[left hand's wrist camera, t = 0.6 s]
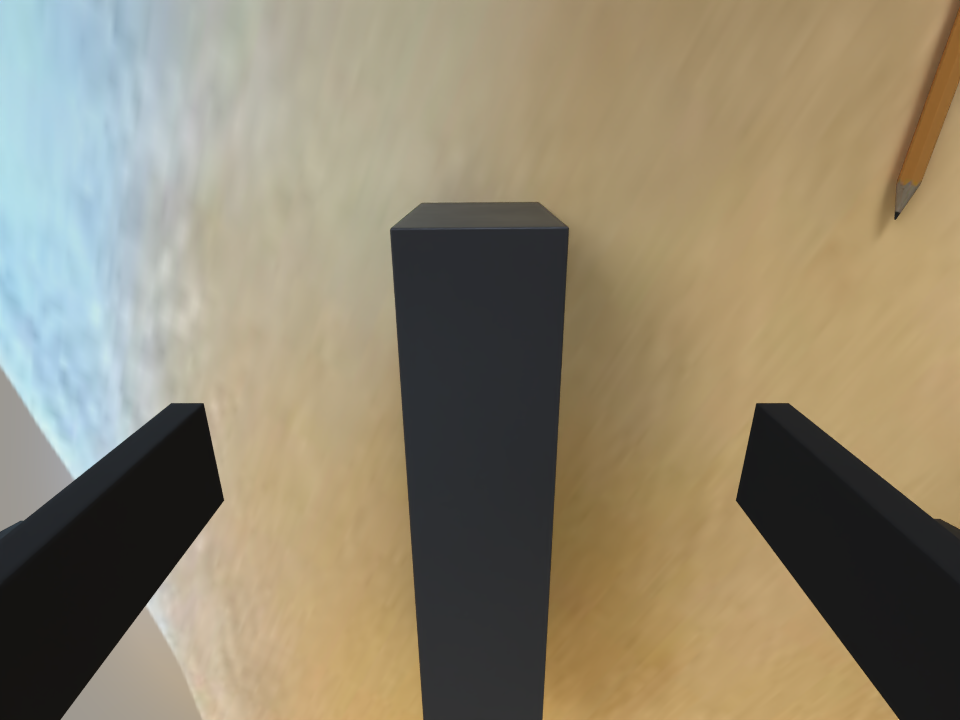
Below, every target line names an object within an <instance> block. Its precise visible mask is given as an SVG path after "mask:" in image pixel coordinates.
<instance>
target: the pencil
mask: <svg viewBox="0 0 960 720" xmlns="http://www.w3.org/2000/svg"><path fill="white" fill-rule="evenodd" d="M959 80H960V8H959V11H958V13H957V16H956V19H955V22H954V25H953V27H952V30H951V33H950V36H949V38H948V41H947V44H946V47H945V50H944V52H943V55H942V58H941V61H940V64H939V66H938V69H937V72H936V75H935V77H934V80H933V83H932V86H931V89H930V91H929V94H928V97H927V100H926V102H925V105H924V108H923V111H922V114H921V116H920V119H919V122H918V125H917V128H916V130H915V133H914V136H913V139H912V141H911V144H910V147H909V150H908V153H907V155H906V158H905V161H904V164H903V166H902V169H901V172H900V175H899V178H898V181H897V186H896V202H895V218H894V220H896V219H897V217H898V216H899V214H900V213H901V211H902V210H903V209H904V207H905V206H906V204H907V203H908V201H909V200H910V199H911V197H912V196H913V194H914V193H915V191H916V190H917V188H918V187H919V185H920V184H921V181H922V179H923V176H924V173H925V171H926V168H927V165H928V163H929V160H930V157H931V155H932V152H933V149H934V147H935V144H936V141H937V139H938V136H939V133H940V131H941V128H942V126H943V123H944V120H945V118H946V115H947V112H948V110H949V107H950V104H951V102H952V99H953V96H954V94H955V91H956V88H957V86H958V83H959Z"/></svg>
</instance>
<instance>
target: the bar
mask: <svg viewBox="0 0 960 720" xmlns="http://www.w3.org/2000/svg"><path fill="white" fill-rule="evenodd" d="M390 235H391V249H392V264H393V279H394V294H395V308H396V323H397V338H398V353H399V367H400V382H401V397H402V411H403V426H404V441H405V456H406V470H407V485H408V500H409V515H410V529H411V544H412V559H413V573H414V588H415V603H416V618H417V632H418V647H419V662H420V677H421V691H422V706H423V720H542V718H543V699H544V681H545V662H546V644H547V625H548V607H549V588H550V570H551V551H552V533H553V514H554V496H555V477H556V459H557V440H558V422H559V403H560V385H561V366H562V348H563V330H564V311H565V293H566V274H567V256H568V237H569V228H568V227H567V226H566V225H565V224H564V223H563V222H561V221H560V220H559V219H558V218H557V217H556V216H554V215H553V214H552V213H551V212H550V211H548V210H547V209H546V208H545V207H544V206H542V205H541V204H540V203H539V202H492V203H421V204H420V205H419V206H417V207H416V208H415V209H414V210H412V211H411V212H410V213H409V214H408V215H406V216H405V217H404V218H403V219H402V220H400V221H399V222H398V223H397V224H396V225H394V226H393V227H392V228H391V229H390Z"/></svg>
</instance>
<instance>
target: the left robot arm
mask: <svg viewBox="0 0 960 720" xmlns="http://www.w3.org/2000/svg"><path fill="white" fill-rule="evenodd" d="M223 501H224V498H223V493H222V488H221V484H220V479H219V474H218V469H217V465H216V460H215V455H214V450H213V446H212V441H211V436H210V431H209V427H208V422H207V417H206V412H205V408H204V403H171V404H170V405H169V406H167V407H166V408H165V409H164V410H162V411H161V412H160V413H159V414H157V415H156V416H155V417H154V418H152V419H151V420H150V421H149V422H147V423H146V424H145V425H144V426H142V427H141V428H140V429H138V430H137V431H136V432H135V433H133V434H132V435H131V436H130V437H128V438H127V439H126V440H125V441H123V442H122V443H121V444H120V445H118V446H117V447H116V448H115V449H113V450H112V451H111V452H110V453H108V454H107V455H106V456H105V457H103V458H102V459H101V460H100V461H98V462H97V463H96V464H95V465H93V466H92V467H91V468H90V469H88V470H87V471H86V472H84V473H83V474H82V475H81V476H79V477H78V478H77V479H76V480H74V481H73V482H72V483H71V484H69V485H68V486H67V487H66V488H64V489H63V490H62V491H61V492H59V493H58V494H57V495H56V496H54V497H53V498H52V499H51V500H49V501H48V502H47V503H46V504H44V505H43V506H42V507H41V508H39V509H38V510H37V511H36V512H34V513H33V514H32V515H31V516H29V517H28V518H27V519H25V520H24V521H19V522H18V523H16V524H14V525H12V526H10V527H8V528H6V529H4V530H2V531H1V532H0V720H61V718H62V717H63V716H64V714H65V713H66V711H67V710H68V709H69V707H70V706H71V705H72V703H73V702H74V701H75V699H76V698H77V697H78V695H79V694H80V693H81V691H82V690H83V689H84V687H85V686H86V685H87V683H88V682H89V681H90V679H91V678H92V677H93V675H94V674H95V673H96V671H97V670H98V669H99V667H100V666H101V665H102V663H103V662H104V661H105V659H106V658H107V657H108V655H109V654H110V653H111V651H112V650H113V648H114V647H115V646H116V645H117V643H118V642H119V641H120V639H121V638H122V636H123V635H124V634H125V632H126V631H127V630H128V628H129V627H130V626H131V624H132V623H133V622H134V620H135V619H136V618H137V616H138V615H139V614H140V612H141V611H142V610H143V608H144V607H145V606H146V604H147V603H148V602H149V600H150V599H151V598H152V596H153V595H154V594H155V592H156V591H157V590H158V588H159V587H160V586H161V584H162V583H163V582H164V580H165V579H166V578H167V576H168V575H169V574H170V572H171V571H172V570H173V568H174V567H175V565H176V564H177V563H178V561H179V560H180V559H181V557H182V556H183V555H184V553H185V552H186V551H187V549H188V548H189V547H190V545H191V544H192V543H193V541H194V540H195V539H196V537H197V536H198V535H199V533H200V532H201V531H202V529H203V528H204V527H205V525H206V524H207V523H208V521H209V520H210V519H211V517H212V516H213V515H214V513H215V512H216V511H217V509H218V508H219V507H220V505H221V504H222V503H223ZM736 501H737V503H738V504H739V505H740V507H741V508H742V509H743V511H744V512H745V513H746V515H747V516H748V517H749V519H750V520H751V521H752V523H753V524H754V525H755V527H756V528H757V529H758V531H759V532H760V533H761V535H762V536H763V537H764V539H765V540H766V541H767V543H768V544H769V545H770V547H771V548H772V549H773V551H774V552H775V553H776V555H777V556H778V557H779V559H780V560H781V561H782V563H783V564H784V565H785V567H786V568H787V570H788V571H789V572H790V574H791V575H792V576H793V578H794V579H795V580H796V582H797V583H798V584H799V586H800V587H801V588H802V590H803V591H804V592H805V594H806V595H807V596H808V598H809V599H810V600H811V602H812V603H813V604H814V606H815V607H816V608H817V610H818V611H819V612H820V614H821V615H822V616H823V618H824V619H825V620H826V622H827V623H828V624H829V626H830V627H831V628H832V630H833V631H834V632H835V634H836V635H837V637H838V638H839V639H840V641H841V642H842V643H843V645H844V646H845V647H846V649H847V650H848V651H849V653H850V654H851V655H852V657H853V658H854V659H855V661H856V662H857V663H858V665H859V666H860V667H861V669H862V670H863V671H864V673H865V674H866V675H867V677H868V678H869V679H870V681H871V682H872V683H873V685H874V686H875V687H876V689H877V690H878V691H879V693H880V694H881V695H882V697H883V698H884V699H885V701H886V702H887V703H888V705H889V706H890V708H891V709H892V710H893V712H894V713H895V714H896V716H897V717H898V718H899V720H960V529H958V528H956V527H954V526H952V525H950V524H949V523H947V522H945V521H943V520H941V519H933V518H932V517H931V516H930V515H928V514H927V513H926V512H924V511H923V510H922V509H921V508H919V507H918V506H917V505H916V504H914V503H913V502H912V501H911V500H909V499H908V498H907V497H906V496H904V495H903V494H902V493H901V492H899V491H898V490H897V489H896V488H894V487H893V486H892V485H891V484H889V483H888V482H887V481H886V480H884V479H883V478H882V477H881V476H879V475H878V474H877V473H876V472H874V471H873V470H872V469H870V468H869V467H868V466H867V465H865V464H864V463H863V462H862V461H860V460H859V459H858V458H857V457H855V456H854V455H853V454H852V453H850V452H849V451H848V450H847V449H845V448H844V447H843V446H842V445H840V444H839V443H838V442H837V441H835V440H834V439H833V438H832V437H830V436H829V435H828V434H827V433H825V432H824V431H823V430H822V429H820V428H819V427H818V426H816V425H815V424H814V423H813V422H811V421H810V420H809V419H808V418H806V417H805V416H804V415H803V414H801V413H800V412H799V411H798V410H796V409H795V408H794V407H793V406H791V405H790V404H789V403H756V407H755V412H754V417H753V422H752V427H751V431H750V436H749V441H748V446H747V450H746V455H745V460H744V465H743V469H742V474H741V479H740V484H739V488H738V493H737V498H736Z"/></svg>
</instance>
